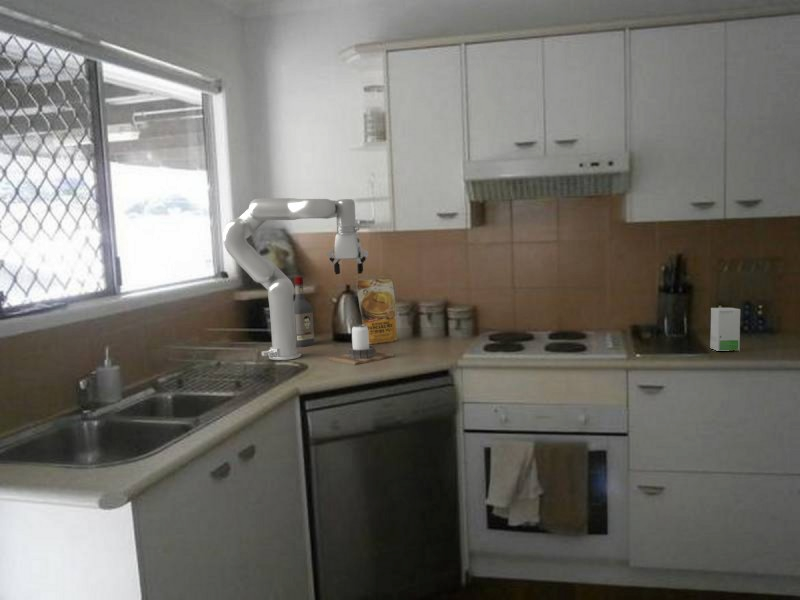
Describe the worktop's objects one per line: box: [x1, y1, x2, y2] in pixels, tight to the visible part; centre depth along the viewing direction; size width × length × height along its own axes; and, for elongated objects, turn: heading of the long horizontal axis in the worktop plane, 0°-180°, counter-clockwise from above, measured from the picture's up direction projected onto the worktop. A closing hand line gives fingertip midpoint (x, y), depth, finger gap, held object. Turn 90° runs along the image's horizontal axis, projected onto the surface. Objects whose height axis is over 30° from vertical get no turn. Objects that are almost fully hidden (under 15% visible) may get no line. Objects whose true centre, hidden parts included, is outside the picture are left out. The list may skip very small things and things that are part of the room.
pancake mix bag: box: [355, 277, 398, 345], centre depth 296 cm, size 7×19×28 cm, turn 116°
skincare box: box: [709, 307, 741, 352], centre depth 248 cm, size 8×7×16 cm
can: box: [351, 323, 370, 350], centre depth 263 cm, size 6×6×12 cm
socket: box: [328, 345, 396, 366], centre depth 264 cm, size 20×16×4 cm
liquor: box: [293, 276, 315, 348], centre depth 298 cm, size 9×9×30 cm
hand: (348, 273), depth 271 cm, fingers open, 9 cm apart
